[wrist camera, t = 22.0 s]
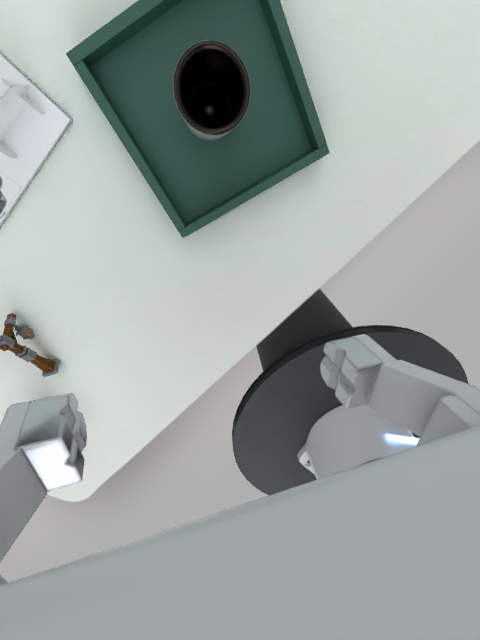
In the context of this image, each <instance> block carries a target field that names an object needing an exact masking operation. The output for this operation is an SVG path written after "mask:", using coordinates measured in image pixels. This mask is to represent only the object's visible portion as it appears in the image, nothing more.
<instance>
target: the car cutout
mask: <svg viewBox="0 0 480 640" xmlns="http://www.w3.org/2000/svg"><path fill="white" fill-rule="evenodd" d="M71 122H72V119H71V118H70V117H69V116H68V115H67V114H66V113H65V112H64V111H62V110H61V109H60V108H59V107H58V106H57V105H56V104H55V103H54V102H53V101H52V100H51V99H50V98H48V97H47V96H46V95H45V94H44V93H43V92H42V91H41V90H40V89H39V88H38V87H37V86H35V85H34V84H33V83H32V82H31V81H30V80H29V79H28V78H27V77H26V76H25V75H24V74H23V73H21V72H20V71H19V70H18V69H17V68H16V67H15V66H14V65H13V64H12V63H11V62H10V61H8V60H7V59H6V58H5V57H4V56H3V55H2V54H1V53H0V227H1V226H2V224H3V223H4V221H5V220H6V218H7V217H8V215H9V214H10V212H11V211H12V209H13V208H14V206H15V205H16V203H17V202H18V200H19V199H20V197H21V196H22V194H23V193H24V192H25V190H26V189H27V187H28V186H29V184H30V183H31V181H32V180H33V178H34V177H35V175H36V174H37V172H38V171H39V169H40V168H41V166H42V165H43V163H44V162H45V160H46V159H47V157H48V156H49V154H50V153H51V151H52V150H53V149H54V147H55V146H56V144H57V143H58V141H59V140H60V138H61V137H62V135H63V134H64V132H65V131H66V129H67V128H68V126H69V125H70V123H71Z"/></svg>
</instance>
